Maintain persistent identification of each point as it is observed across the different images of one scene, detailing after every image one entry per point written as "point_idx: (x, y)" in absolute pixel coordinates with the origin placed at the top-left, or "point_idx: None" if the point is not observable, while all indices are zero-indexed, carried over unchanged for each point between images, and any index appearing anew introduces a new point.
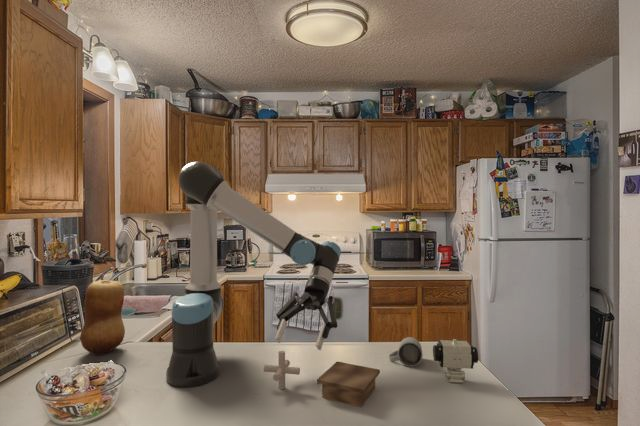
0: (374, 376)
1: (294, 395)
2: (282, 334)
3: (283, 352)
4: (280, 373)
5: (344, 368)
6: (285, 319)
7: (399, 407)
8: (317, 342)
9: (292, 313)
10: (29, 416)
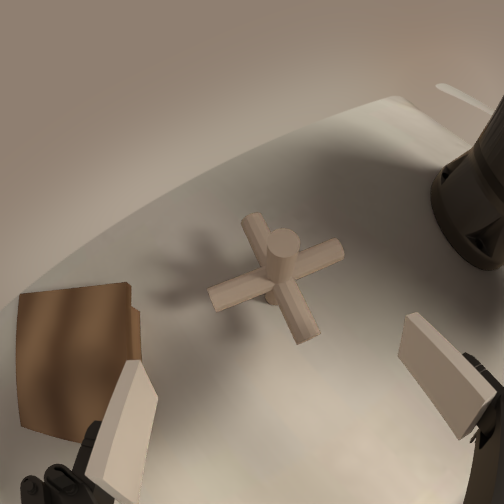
0: (16, 378)
1: (213, 280)
2: (422, 378)
3: (272, 242)
4: (251, 236)
5: (87, 402)
6: (488, 432)
7: (9, 349)
8: (129, 373)
9: (482, 484)
10: (443, 88)
